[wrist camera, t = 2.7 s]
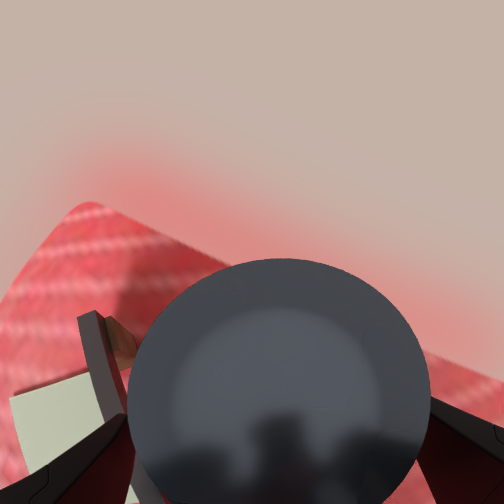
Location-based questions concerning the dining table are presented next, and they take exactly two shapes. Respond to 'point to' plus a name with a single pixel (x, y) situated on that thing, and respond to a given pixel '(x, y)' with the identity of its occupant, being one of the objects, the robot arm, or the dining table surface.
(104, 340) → the bar
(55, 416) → the mat
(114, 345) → the posts
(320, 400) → the canister
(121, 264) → the dining table surface
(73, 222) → the dining table surface
